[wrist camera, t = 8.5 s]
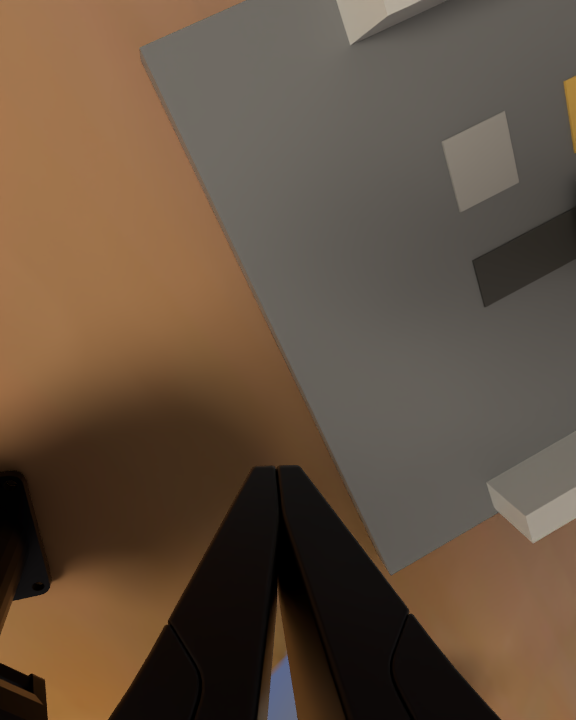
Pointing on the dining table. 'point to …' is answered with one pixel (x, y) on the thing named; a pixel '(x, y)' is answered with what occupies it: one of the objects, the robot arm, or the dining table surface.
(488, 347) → the breaker panel
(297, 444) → the dining table surface
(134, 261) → the dining table surface
